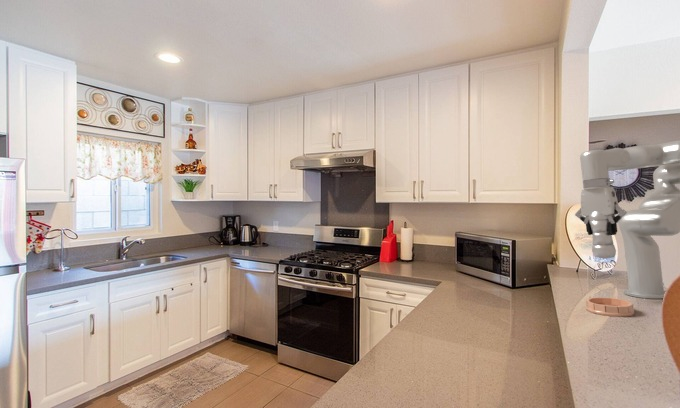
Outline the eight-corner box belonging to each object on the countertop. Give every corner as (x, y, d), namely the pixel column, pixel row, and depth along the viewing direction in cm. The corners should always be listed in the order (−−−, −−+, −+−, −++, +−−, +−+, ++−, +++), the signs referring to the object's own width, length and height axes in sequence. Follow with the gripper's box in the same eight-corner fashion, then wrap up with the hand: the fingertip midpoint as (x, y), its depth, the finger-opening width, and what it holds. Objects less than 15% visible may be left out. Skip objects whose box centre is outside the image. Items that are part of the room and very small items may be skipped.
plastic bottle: (621, 259, 112) (614, 201, 113) (599, 260, 114) (592, 203, 114) (609, 256, 119) (603, 201, 119) (589, 257, 120) (582, 203, 121)
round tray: (597, 304, 114) (596, 295, 114) (641, 311, 103) (640, 302, 103) (578, 310, 108) (578, 301, 108) (623, 319, 98) (622, 309, 98)
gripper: (631, 181, 111) (637, 233, 111) (575, 187, 127) (580, 233, 126) (620, 181, 108) (626, 236, 107) (564, 187, 123) (569, 235, 122)
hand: (601, 234), depth 117 cm, fingers closed on plastic bottle, 6 cm apart
